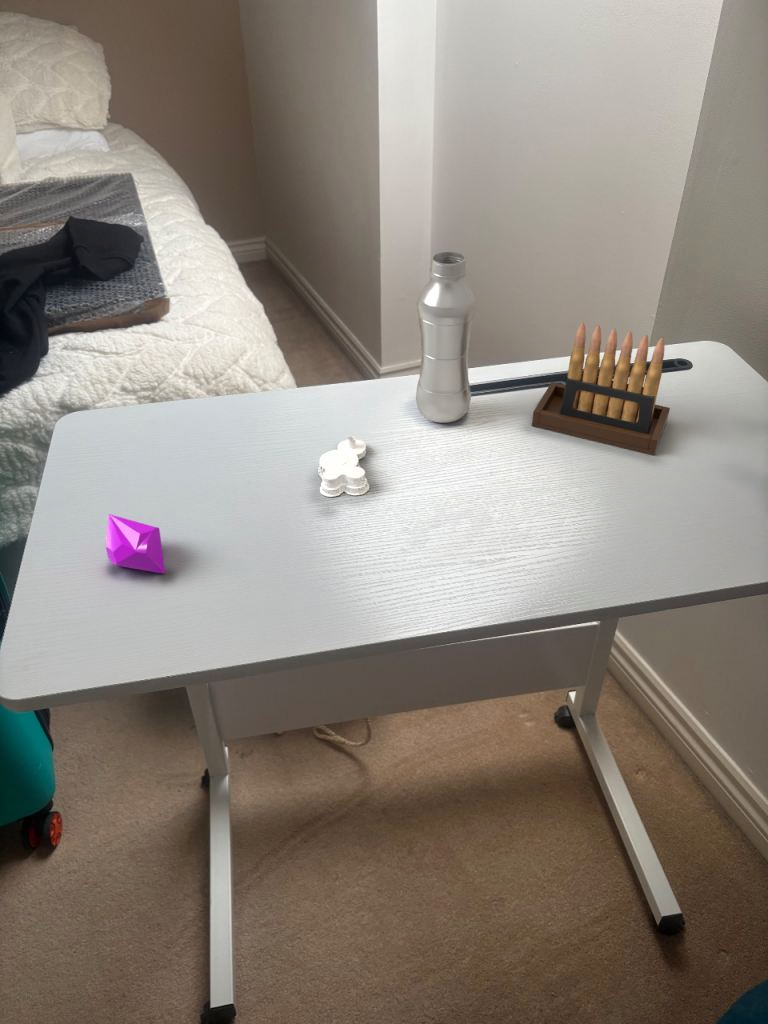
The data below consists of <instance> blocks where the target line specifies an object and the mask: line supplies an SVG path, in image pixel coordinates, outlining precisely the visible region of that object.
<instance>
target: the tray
mask: <svg viewBox="0 0 768 1024" xmlns="http://www.w3.org/2000/svg"><path fill="white" fill-rule="evenodd" d="M565 385H566V384H564V383H559V382H555V381H551V382H550V383H549V385H548V387H547V389H546V390H545V392H544V393H543V395H542V396H541V398H540V400H539V401H538V403H537V405H536V407H535V408H534V410H533V413H532V421H531V427H534V428H538V429H542V430H546V431H551V432H555V433H560V434H563V435H568V436H571V437H576V438H580V439H584V440H589V441H593V442H597V443H601V444H604V445H605V444H606V445H608V446H609V445H610V446H613V447H617V448H622V449H626V450H630V451H634V452H639V453H642V454H646V455H647V454H648V455H652V456H655V454H656V451H657V449H658V446H659V444H660V442H661V438H662V436H663V434H664V430H665V428H666V426H667V423H668V419H669V415H670V411H671V408H670V407H669V406H664V405H659V404H655V408H654V414H653V420H652V426H651V429H650V432H649V434H644V433H639V432H635V431H631V430H626V429H622V428H618V427H613V426H609V425H605V424H600V423H596V422H592V421H587V420H583V419H579V418H574V417H570V416H566V415H561V414H559V413H560V409H561V404H562V399H563V394H564V390H565ZM579 396H580V390H579ZM594 398H595V393H594ZM594 398H593V403H594ZM609 399H610V396H609ZM578 402H579V397H578ZM624 402H625V400H624ZM608 404H609V401H608ZM592 405H593V404H592ZM623 406H624V404H623ZM607 409H608V407H607ZM638 409H639V407H638ZM622 411H623V409H622ZM637 414H638V411H637Z"/></svg>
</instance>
